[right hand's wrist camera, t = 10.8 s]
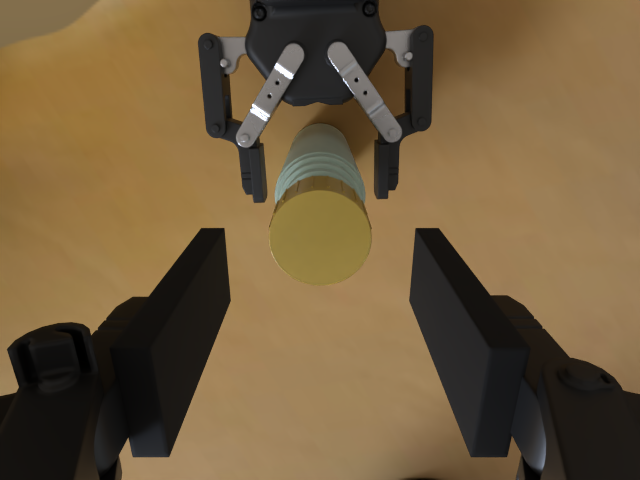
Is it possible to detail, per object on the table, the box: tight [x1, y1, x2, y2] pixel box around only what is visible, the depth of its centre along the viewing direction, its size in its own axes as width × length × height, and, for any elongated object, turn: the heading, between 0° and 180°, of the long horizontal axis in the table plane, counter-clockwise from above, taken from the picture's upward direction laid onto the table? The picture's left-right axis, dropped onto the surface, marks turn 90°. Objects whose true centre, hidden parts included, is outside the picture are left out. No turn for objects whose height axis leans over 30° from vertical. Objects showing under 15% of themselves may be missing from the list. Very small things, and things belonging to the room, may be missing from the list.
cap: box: [269, 176, 372, 286], centre depth 18 cm, size 4×4×2 cm
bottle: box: [275, 123, 365, 204], centre depth 26 cm, size 5×5×19 cm
